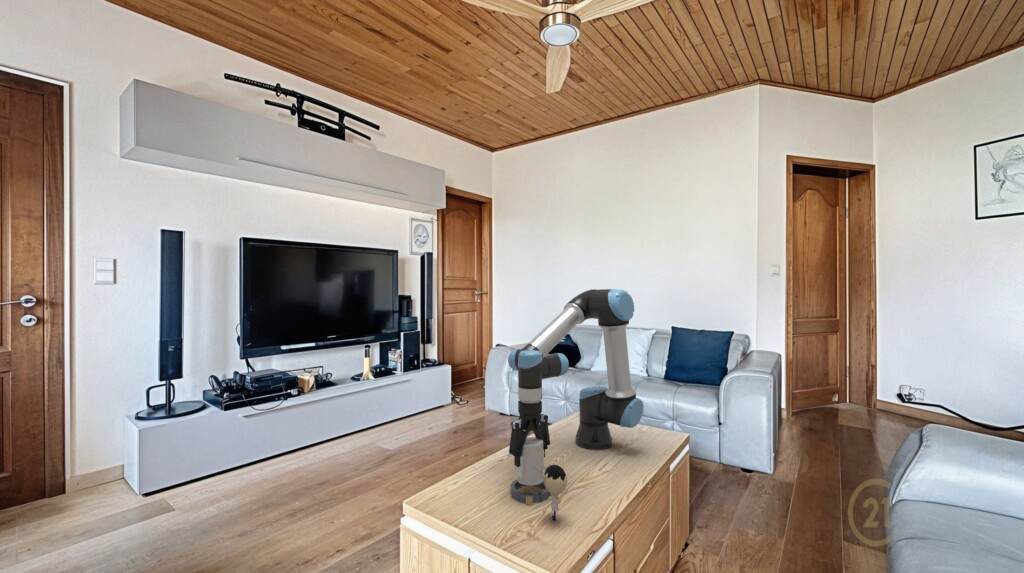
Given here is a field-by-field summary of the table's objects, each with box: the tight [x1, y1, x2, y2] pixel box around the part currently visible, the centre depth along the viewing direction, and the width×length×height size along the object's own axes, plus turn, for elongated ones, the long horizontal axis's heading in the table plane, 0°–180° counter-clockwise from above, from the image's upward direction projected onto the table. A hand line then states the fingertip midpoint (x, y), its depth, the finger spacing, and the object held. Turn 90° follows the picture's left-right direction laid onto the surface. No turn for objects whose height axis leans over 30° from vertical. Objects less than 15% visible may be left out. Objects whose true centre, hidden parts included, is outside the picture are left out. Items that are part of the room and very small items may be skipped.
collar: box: [509, 479, 551, 506], centre depth 137 cm, size 12×12×2 cm
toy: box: [543, 464, 568, 521], centre depth 122 cm, size 9×7×15 cm
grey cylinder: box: [516, 436, 544, 487], centre depth 137 cm, size 8×8×12 cm
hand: (530, 472), depth 137 cm, fingers closed on grey cylinder, 8 cm apart
